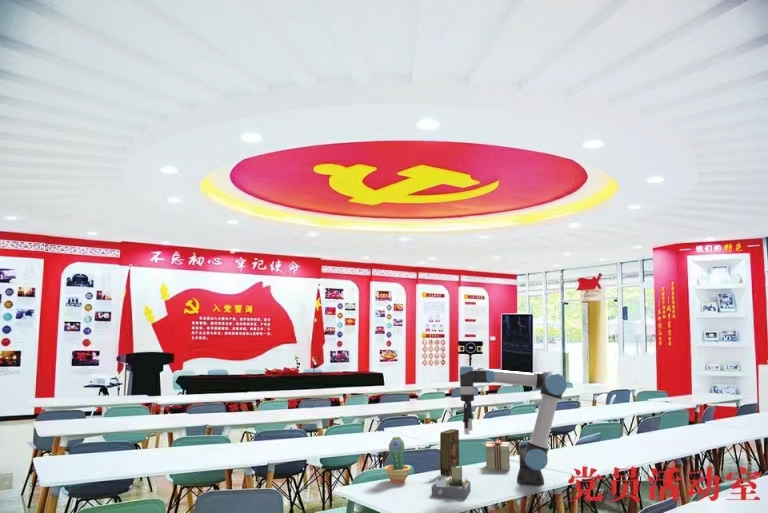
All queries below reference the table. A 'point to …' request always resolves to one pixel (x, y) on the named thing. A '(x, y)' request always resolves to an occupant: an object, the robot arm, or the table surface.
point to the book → (449, 450)
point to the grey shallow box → (450, 489)
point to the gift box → (497, 455)
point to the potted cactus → (397, 462)
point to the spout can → (456, 474)
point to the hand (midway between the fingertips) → (468, 432)
